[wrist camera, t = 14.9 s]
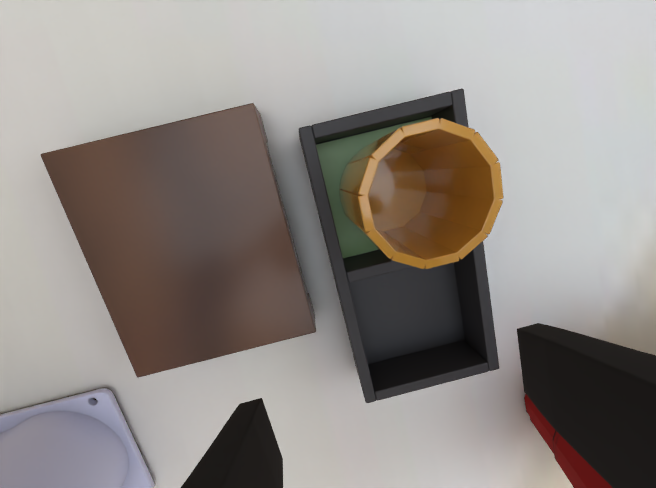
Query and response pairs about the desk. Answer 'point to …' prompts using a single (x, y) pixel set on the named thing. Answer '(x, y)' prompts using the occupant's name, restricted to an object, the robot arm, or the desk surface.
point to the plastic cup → (565, 453)
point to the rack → (398, 271)
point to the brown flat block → (186, 238)
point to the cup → (424, 192)
